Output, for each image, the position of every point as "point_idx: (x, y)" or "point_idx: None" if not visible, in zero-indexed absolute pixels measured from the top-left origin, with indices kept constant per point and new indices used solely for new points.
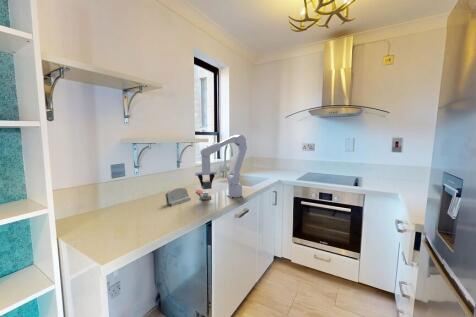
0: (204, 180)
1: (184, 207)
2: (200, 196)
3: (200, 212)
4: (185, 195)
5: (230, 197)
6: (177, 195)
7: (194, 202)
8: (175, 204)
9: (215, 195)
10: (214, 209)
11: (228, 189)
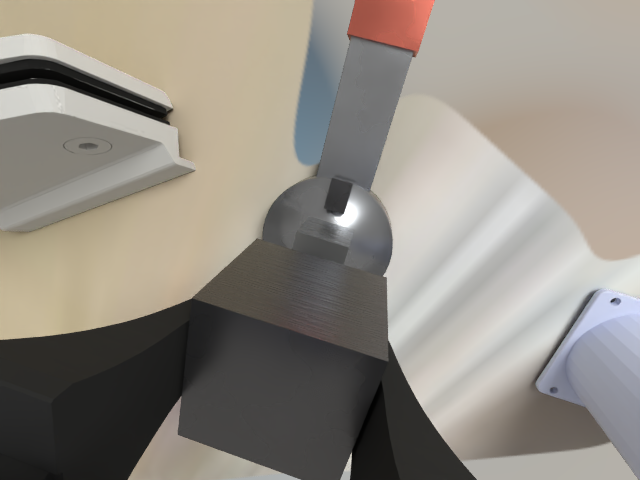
0: (254, 348)
1: (103, 315)
2: (280, 207)
3: (165, 442)
4: (109, 151)
5: (537, 388)
6: (3, 180)
7: (197, 264)
8: (49, 222)
9: (500, 196)
10: (252, 463)
11: (636, 391)
